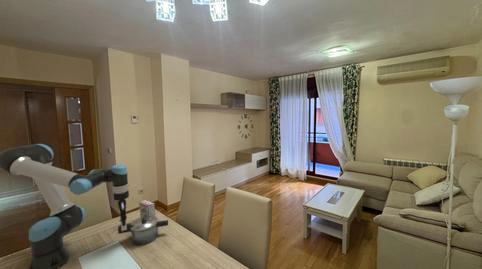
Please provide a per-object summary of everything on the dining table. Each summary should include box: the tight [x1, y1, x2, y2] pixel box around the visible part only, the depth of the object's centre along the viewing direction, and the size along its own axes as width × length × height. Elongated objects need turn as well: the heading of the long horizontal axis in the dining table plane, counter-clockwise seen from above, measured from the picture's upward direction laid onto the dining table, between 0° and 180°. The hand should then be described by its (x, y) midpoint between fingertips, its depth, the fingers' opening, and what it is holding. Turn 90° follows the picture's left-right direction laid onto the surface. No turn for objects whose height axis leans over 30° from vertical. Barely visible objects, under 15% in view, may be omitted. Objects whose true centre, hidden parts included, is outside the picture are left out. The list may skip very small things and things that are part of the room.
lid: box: [117, 215, 159, 232], centre depth 120 cm, size 22×16×3 cm
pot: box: [118, 219, 169, 247], centre depth 122 cm, size 28×15×9 cm, turn 106°
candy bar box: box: [138, 199, 156, 218], centre depth 136 cm, size 11×5×16 cm, turn 58°
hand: (124, 229), depth 115 cm, fingers closed
